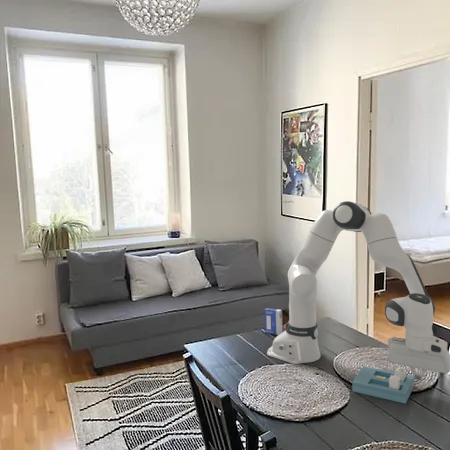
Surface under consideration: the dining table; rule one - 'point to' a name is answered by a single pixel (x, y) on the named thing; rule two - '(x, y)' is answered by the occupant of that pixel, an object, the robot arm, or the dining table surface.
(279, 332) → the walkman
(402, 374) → the tab far
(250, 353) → the dining table surface
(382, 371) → the switch bank
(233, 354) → the dining table surface
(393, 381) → the tab near
